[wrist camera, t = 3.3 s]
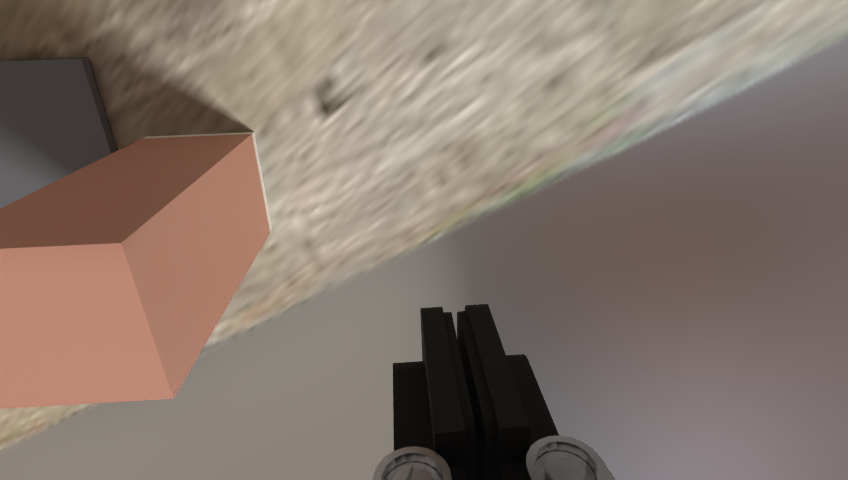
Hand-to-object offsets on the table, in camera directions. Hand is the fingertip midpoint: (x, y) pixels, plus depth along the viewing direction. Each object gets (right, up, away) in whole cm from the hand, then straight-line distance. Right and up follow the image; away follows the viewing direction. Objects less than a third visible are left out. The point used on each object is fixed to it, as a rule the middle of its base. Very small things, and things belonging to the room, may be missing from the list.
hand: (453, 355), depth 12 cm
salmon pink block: (-11, +6, +12) cm, 17 cm away
